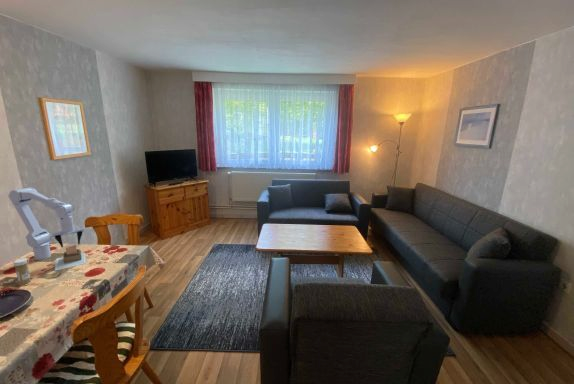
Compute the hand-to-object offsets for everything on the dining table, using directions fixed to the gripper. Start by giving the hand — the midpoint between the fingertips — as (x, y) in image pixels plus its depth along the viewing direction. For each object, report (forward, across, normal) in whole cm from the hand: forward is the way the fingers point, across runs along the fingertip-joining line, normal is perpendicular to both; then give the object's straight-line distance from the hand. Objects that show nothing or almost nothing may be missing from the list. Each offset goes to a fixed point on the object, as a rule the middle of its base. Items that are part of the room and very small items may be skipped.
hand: (70, 245), depth 151 cm
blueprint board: (+10, -1, -2) cm, 10 cm away
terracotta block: (+6, 0, 0) cm, 6 cm away
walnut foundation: (+9, 0, 0) cm, 9 cm away
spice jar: (+10, -19, -17) cm, 27 cm away
